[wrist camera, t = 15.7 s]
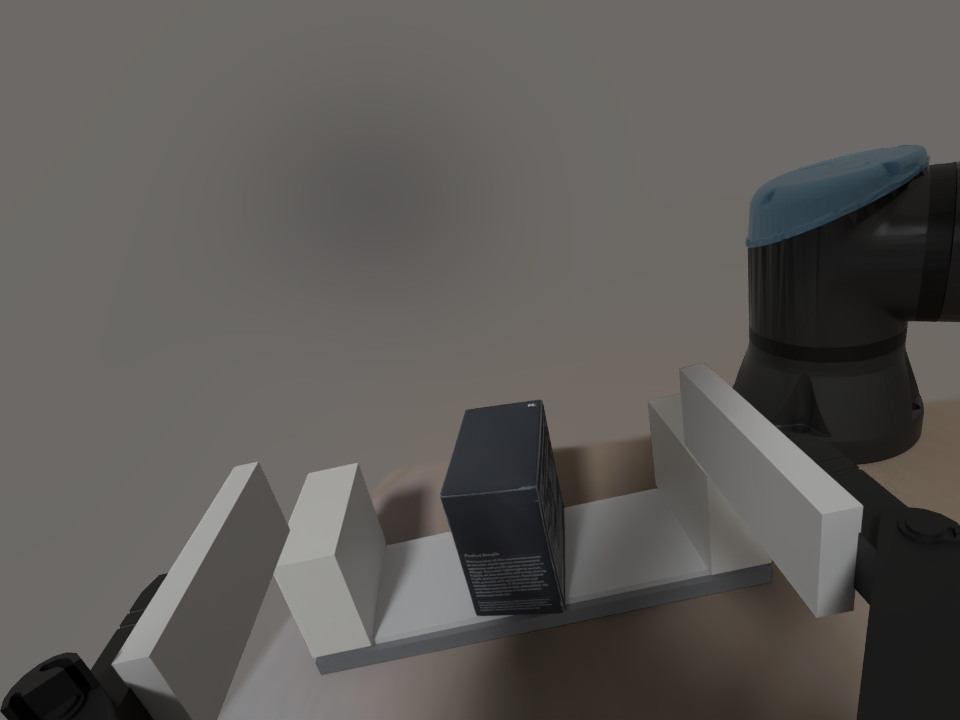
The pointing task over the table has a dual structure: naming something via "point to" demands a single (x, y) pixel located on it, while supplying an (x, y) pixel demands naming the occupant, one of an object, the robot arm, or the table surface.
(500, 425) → the small box
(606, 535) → the panel
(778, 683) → the table surface
